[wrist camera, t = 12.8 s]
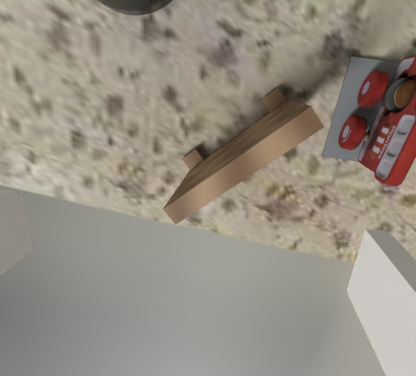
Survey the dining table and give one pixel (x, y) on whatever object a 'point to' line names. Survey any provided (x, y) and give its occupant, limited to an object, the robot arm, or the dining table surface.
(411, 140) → the toy fire truck
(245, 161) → the screen
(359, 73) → the mat
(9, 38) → the dining table surface
